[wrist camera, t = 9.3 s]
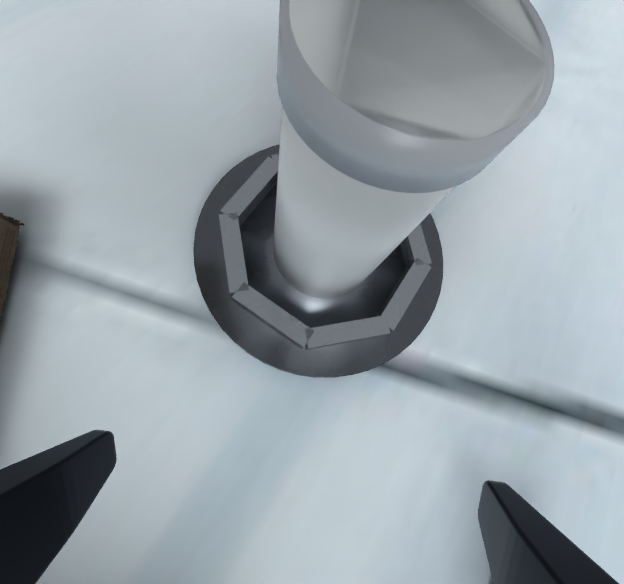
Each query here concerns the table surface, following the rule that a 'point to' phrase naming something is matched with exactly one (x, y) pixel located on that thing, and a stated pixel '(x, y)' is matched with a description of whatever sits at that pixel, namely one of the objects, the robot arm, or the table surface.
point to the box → (7, 252)
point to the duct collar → (298, 306)
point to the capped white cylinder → (391, 121)
